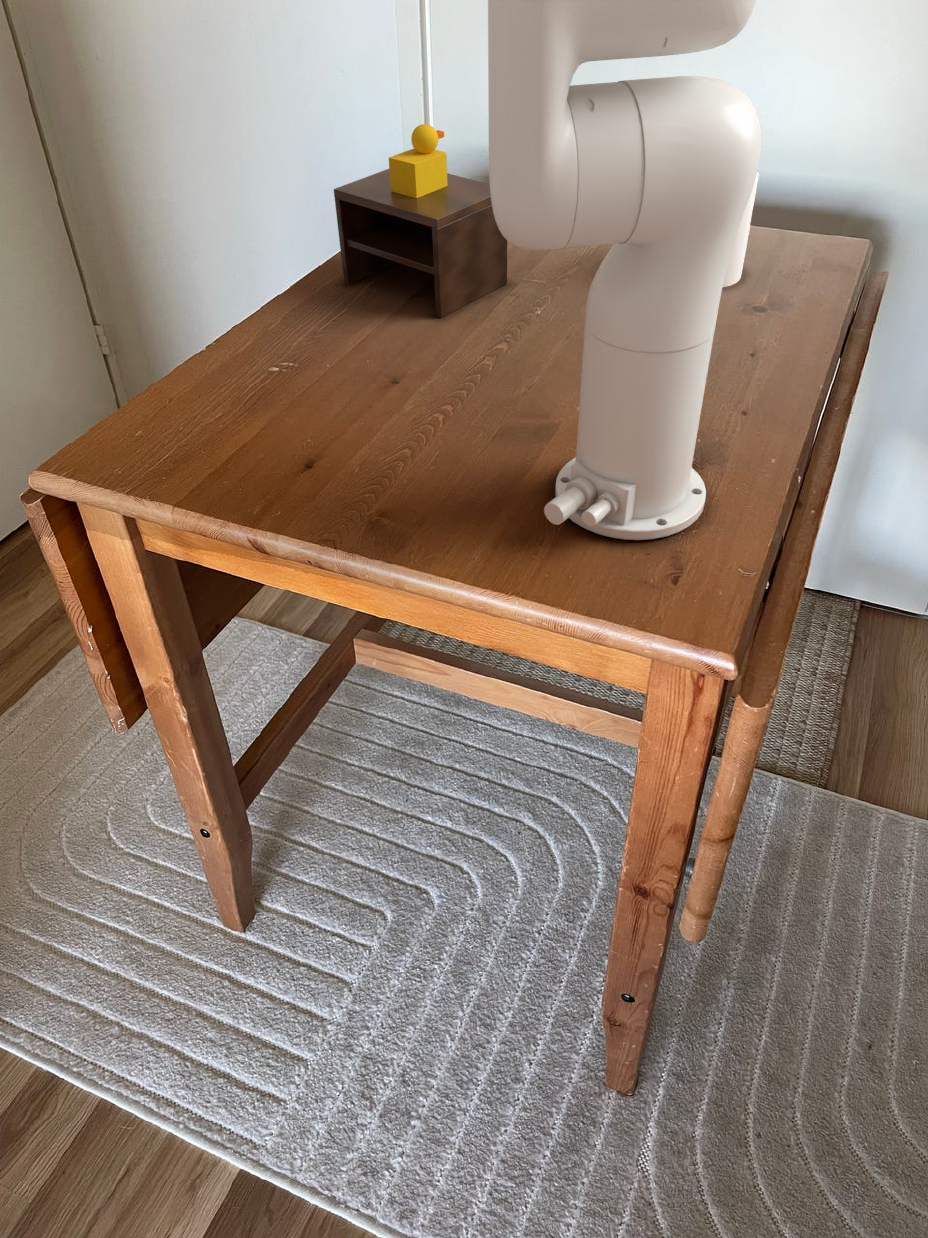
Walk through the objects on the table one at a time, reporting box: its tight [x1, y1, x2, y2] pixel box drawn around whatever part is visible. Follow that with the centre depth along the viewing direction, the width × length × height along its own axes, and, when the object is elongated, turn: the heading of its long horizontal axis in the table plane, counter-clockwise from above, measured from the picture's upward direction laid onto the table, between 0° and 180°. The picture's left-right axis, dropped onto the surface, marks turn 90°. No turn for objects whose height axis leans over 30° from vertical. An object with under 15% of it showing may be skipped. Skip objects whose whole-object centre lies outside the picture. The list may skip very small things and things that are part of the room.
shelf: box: [333, 168, 508, 319], centre depth 109 cm, size 12×16×11 cm
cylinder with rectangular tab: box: [722, 172, 760, 289], centre depth 109 cm, size 9×9×12 cm
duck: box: [388, 123, 448, 199], centre depth 104 cm, size 7×4×6 cm, turn 139°
